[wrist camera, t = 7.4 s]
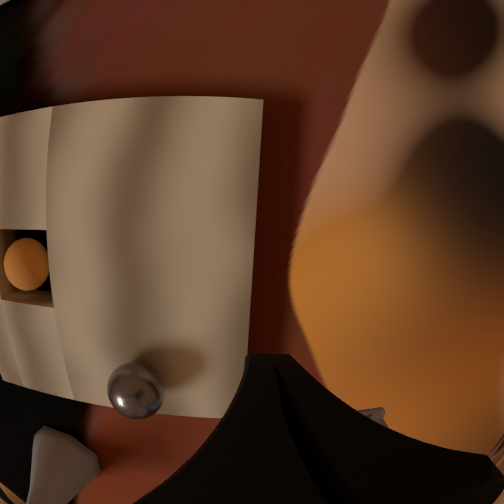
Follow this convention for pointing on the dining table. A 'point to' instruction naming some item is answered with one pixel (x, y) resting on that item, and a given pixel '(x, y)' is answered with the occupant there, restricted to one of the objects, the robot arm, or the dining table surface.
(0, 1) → the ceramic plate
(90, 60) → the dining table surface
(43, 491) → the flask
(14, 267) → the ball
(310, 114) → the dining table surface
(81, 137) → the board
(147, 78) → the dining table surface
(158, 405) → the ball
